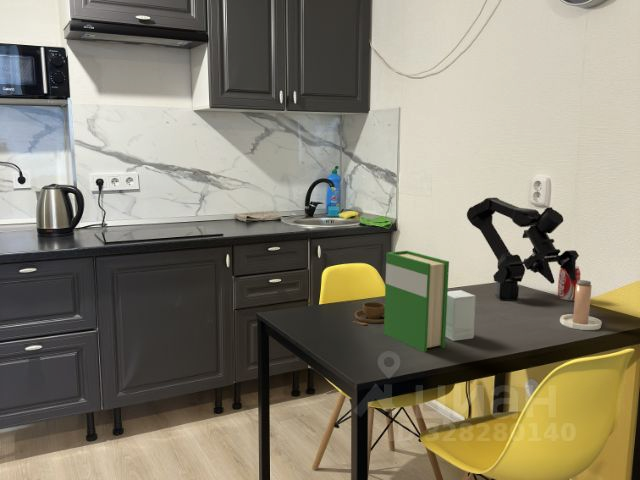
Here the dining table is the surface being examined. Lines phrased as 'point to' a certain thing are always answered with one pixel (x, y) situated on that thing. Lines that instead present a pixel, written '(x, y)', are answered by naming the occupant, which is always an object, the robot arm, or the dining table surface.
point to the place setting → (371, 313)
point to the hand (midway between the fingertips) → (564, 281)
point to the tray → (592, 324)
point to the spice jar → (582, 302)
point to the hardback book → (416, 299)
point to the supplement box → (460, 315)
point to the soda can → (567, 285)
